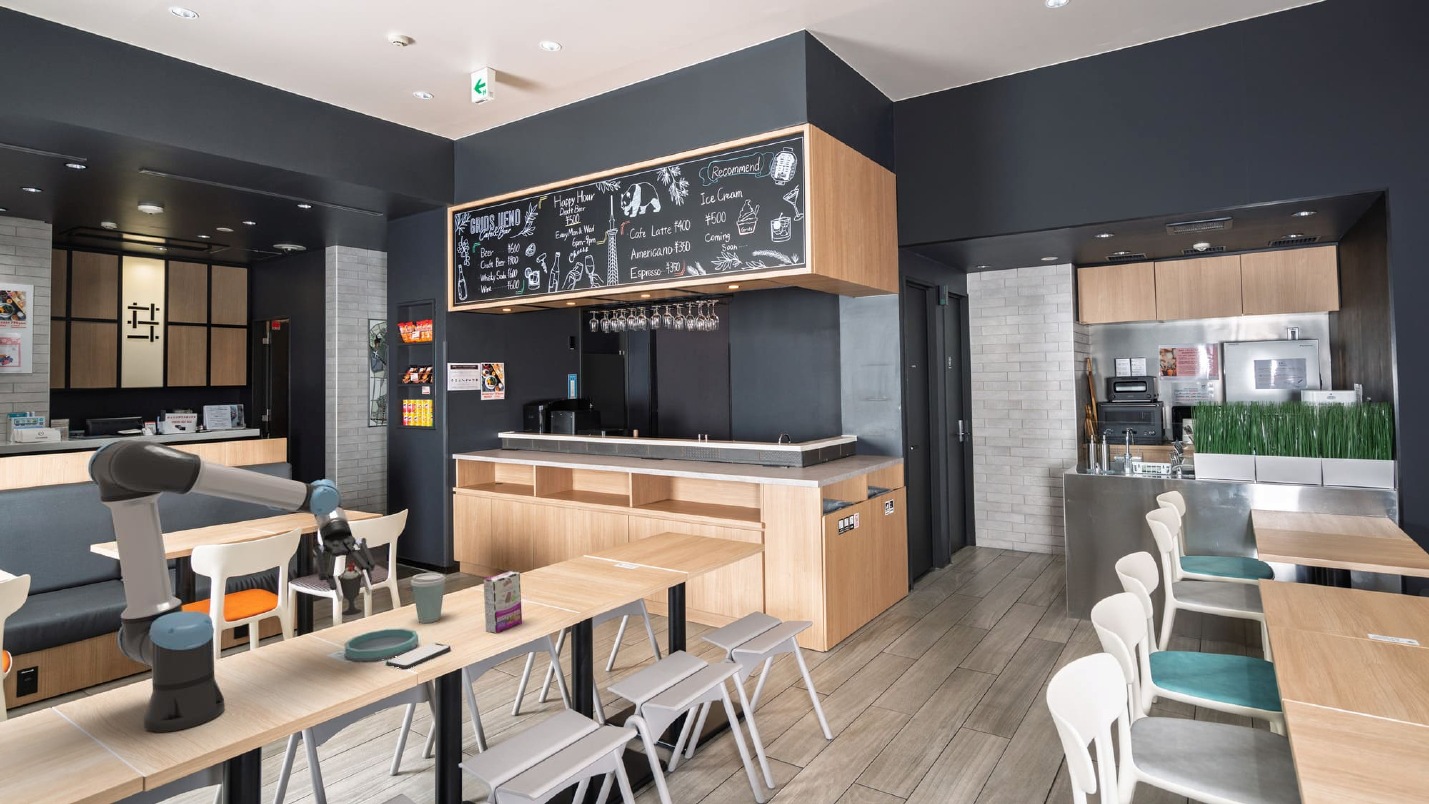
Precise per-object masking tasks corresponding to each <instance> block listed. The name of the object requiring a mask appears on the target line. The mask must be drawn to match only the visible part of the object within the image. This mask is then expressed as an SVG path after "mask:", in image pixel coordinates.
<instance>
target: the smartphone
mask: <svg viewBox="0 0 1429 804" xmlns="http://www.w3.org/2000/svg"><path fill="white" fill-rule="evenodd" d="M450 652H451V645H447V644H441V643H437V642H428V643H426V644H424V645H421V646H420V647H416V648H415V649H414V650H412V651H409V652H407V653H405V654H402V655H400V656H397V657H395V658H391V659H387V660H386V662H385V666H387V667H390V666H394V667H393V668H395V667H399V668H401V669H400V670H409V669H411V667H412V668H414V667H416V665H417V666H419V665H421V664H424V663H426V662H428V660H429V661H430V659H431V660H433V659H436V658H438V657H441V656H443V655H444V654H448V653H450ZM442 654H443V655H442ZM437 656H438V657H437ZM435 657H436V658H435ZM425 661H426V662H425ZM423 662H424V663H423ZM418 664H419V665H418ZM413 666H414V667H413ZM399 668H398V669H399ZM408 668H409V669H408Z"/></svg>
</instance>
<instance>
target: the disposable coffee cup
mask: <svg viewBox="0 0 1429 804" xmlns="http://www.w3.org/2000/svg"><path fill="white" fill-rule="evenodd" d="M445 583H446V577H445V576H444V575H443V574H442V573H435V572H434V573H431V572H429V573H428V572H427V573H419V574H415V575H413V576H412V579H411V580H410V584H411V586H412V592H413V593H412V594H413V597H414V603H415V607H416V614H417V619H418V621H419V623H420V624H431V622H432V623H435V622H434V621H436V622H438V621H439V620H440V619H441V614H442V607H443V600H444V591H445V585H446V584H445ZM438 619H439V620H438Z"/></svg>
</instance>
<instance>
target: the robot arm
mask: <svg viewBox="0 0 1429 804" xmlns="http://www.w3.org/2000/svg"><path fill="white" fill-rule="evenodd" d="M87 467H88V470H87V471H88V475H89V477H90V479H91V480H92V482H94V484H95V485H96V486H98V491H99V497H100V503H101V504H103V505H104V506H107V507H109V508H110V510H111V516H112V523H113V527H114V534H115V539H116V540H115V541H116V546H117V552H118V558H119V563H120V569H121V575H122V580H123V586H124V594H125V598H126V605H127V607H126V608H125V609H124V610H123V611H122V612H121V614H120V619H121V627H120V628H119V631H118V633H117V645H118V647H119V649H120V651H121V652H122V654H124V655H125V656H126V657H127V658H128V659H130V660H132V661H133V662H134V661H135V662H137V663H139V664H143V665H147V666H149V667H150V668H151V678H152V679H151V681H152V692H151V695H150V698H149V701H148V705H147V707H146V710H145V713H144V716H143V724H144V725H143V727H144V730H146V729H147V730H148V731H147V730H146V731H147V732H151V731H155V732H154V733H157V732H156V731H159V732H158V733H161V732H160V731H170V732H176V731H181V729H182V730H185V729H189V728H193V727H196V726H199V725H202V724H205V723H207V722H209V721H212V720H213V719H214V720H215V719H216V718H217V717H219V716H220V715H221V714H222V713H224V712H225V709H226V704H225V698H224V695H223V694H222V691H221V689H220V687H219V684H218V682H217V681H216V677H215V653H214V652H215V651H214V650H215V648H214V646H215V645H214V644H215V643H214V634H215V630H214V629H215V628H214V626H213V620H212V618H211V616H210V615H209V614H208V613H205V612H203V611H202V612H201V611H190V610H186V611H185V610H183V605H182V600H181V599H179V598H177V597H176V596H173V592H172V586H171V580H170V573H169V567H168V562H167V555H166V550H165V549H166V548H165V544H164V538H163V533H162V532H163V530H162V524H161V519H160V513H159V506H158V499H159V498H160V497H161V496H162V495H163V494H164V493H167V494H168V493H169V494H175V495H176V494H178V495H184V496H185V495H187V494H190V493H191V492H192V493H196V494H202V495H207V496H211V497H212V496H213V497H217V498H225V499H229V500H235V501H240V502H246V503H251V504H256V505H264V506H266V507H267V508H268V509H269V510H272V511H278V512H281V511H283V512H290V513H291V512H292V513H301V514H308V515H313V516H314V518H315V521H316V524H317V529H318V531H319V534H320V538H321V542H322V545H314V546H313V549H312V555H313V556H314V558H315V561H316V567H317V573H318V580H319V581H326V583H328V585H329V589H330V590H331V591H334V592H335V595H336V599H337V601H338V602H342V601H343V598H344V597H343V593H342V589H341V584H340V581H339V580H338V576H339V575H338V574H336V575H335V567H336V566H335V565H336V561H337V558H338V557H341V556H347V558H348V559H351V561H352V559H353V561H352V563H353V564H355V566H356V567H357V568H358V570H359V571H360V572H361V573H363V574H364V576H363V577H362V578H361V582H362V583H363V587H364V590H365V592H366V595H367V596H371V593H372V591H373V587H372V584H371V583H372V580H373V576H372V572H373V571H374V570H375V568H376V562H375V559H374V558H373V556H372V553H371V551H370V550H369V548H368V546H367V539H366V538H365V537H362V538H361V539H356V538H355V537H354V535H353V533H352V529H351V527H350V524H349V522H348V518H347V516H346V515H347V514H346V512H345V509H344V506H343V502H342V499H341V496H340V493H339V490H338V488H337V486H336V483H335V482H334V481H333V480H330V479H327V478H326V479H325V478H324V479H321V480H320V479H317V480H315V481H313V482H311V483H306V482H305V483H304V482H301V481H299V480H298V481H297V480H292V479H289V478H284V477H279V476H275V475H270V474H266V473H261V472H257V471H253V470H249V469H248V470H247V469H243V468H239V467H234V466H231V465H230V466H229V465H225V464H220V463H217V462H216V463H215V462H210V461H207V460H203V458H202V457H201V456H200V455H199V454H194V453H191V452H187V451H183V450H180V449H177V448H174V447H171V446H167V445H164V444H161V443H158V442H154V441H150V440H149V441H148V440H132V439H124V440H117V441H113V442H109V443H106V444H103V445H102V446H101V447H100V448H98V449H97V450H96V451H95V452H94V453H93V454H92V456H91V457H90V459H89V461H88V466H87ZM355 546H356V547H357V548H358V549H359V551H360V552H361V555H362V557H361V555H360V554H359V553H358V551H357V550H356V548H355ZM324 551H325V552H327V554H329V555H330V557H329V564H328V570H327V572H326V567H325V560H324V555H323V553H324Z"/></svg>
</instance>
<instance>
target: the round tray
mask: <svg viewBox="0 0 1429 804" xmlns="http://www.w3.org/2000/svg"><path fill="white" fill-rule="evenodd" d="M418 643H419V635H418V633H417V630H413V629H409V628H384V629H380V630H374V631H373V630H372V631H369V632H365V633H363V634H359V635H357V636H353V637H352V638H350V639H349V640H347V641H346V642H345V643H344V653H345V654H344V655H345V658H346V660H349V661H353V662H357V661H372V662H379V661H378V660H380V661H383V660H382V659H386V660H390V659H389V658H391V659H393V658H392V657H395V656H400V655H402V654H405V653H407V652H409V651H412V650H413V649H417V647H418ZM416 646H417V647H416Z"/></svg>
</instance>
